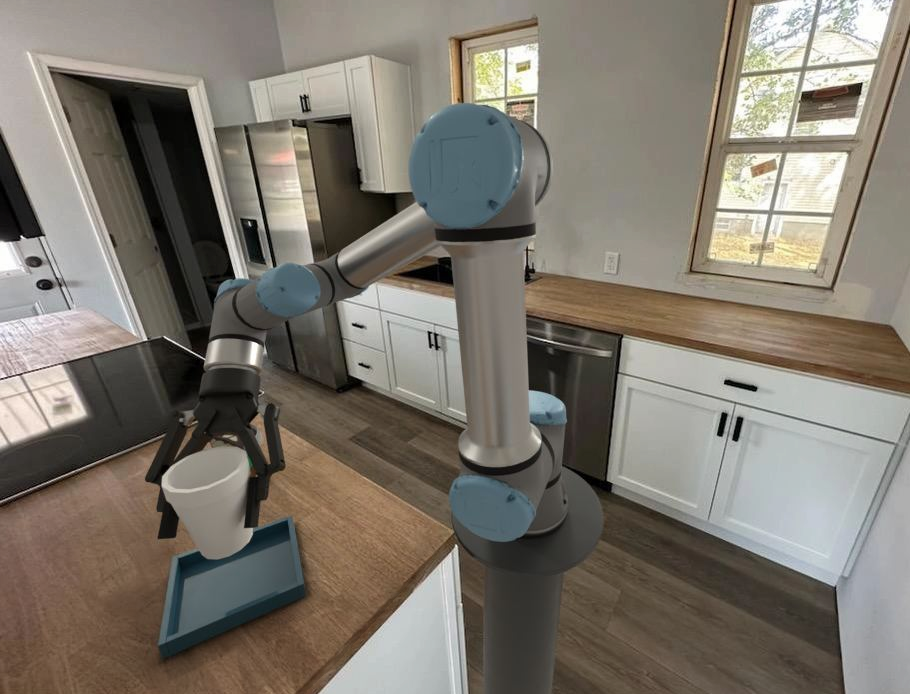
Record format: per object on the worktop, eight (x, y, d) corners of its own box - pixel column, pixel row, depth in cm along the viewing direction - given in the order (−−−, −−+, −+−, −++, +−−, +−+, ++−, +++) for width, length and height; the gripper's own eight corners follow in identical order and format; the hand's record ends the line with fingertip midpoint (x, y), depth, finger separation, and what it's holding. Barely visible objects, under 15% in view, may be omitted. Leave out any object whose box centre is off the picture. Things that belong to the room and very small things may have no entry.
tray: (294, 525, 72) (292, 514, 71) (306, 595, 61) (303, 583, 60) (176, 568, 64) (171, 556, 63) (162, 659, 52) (157, 646, 51)
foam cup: (278, 531, 61) (262, 459, 57) (212, 580, 54) (187, 503, 49) (240, 507, 65) (221, 439, 61) (173, 550, 58) (146, 476, 53)
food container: (283, 470, 86) (275, 430, 82) (255, 489, 80) (245, 446, 77) (244, 454, 90) (234, 415, 87) (215, 471, 85) (204, 430, 81)
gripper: (315, 376, 69) (306, 521, 60) (165, 385, 65) (132, 544, 56) (302, 361, 62) (290, 521, 54) (134, 370, 58) (91, 547, 49)
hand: (209, 533), depth 55 cm, fingers closed on foam cup, 9 cm apart
